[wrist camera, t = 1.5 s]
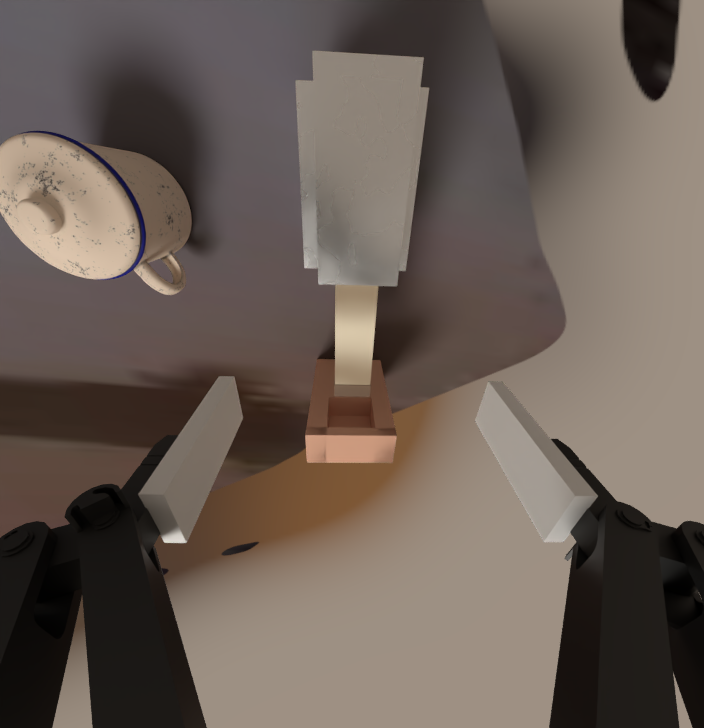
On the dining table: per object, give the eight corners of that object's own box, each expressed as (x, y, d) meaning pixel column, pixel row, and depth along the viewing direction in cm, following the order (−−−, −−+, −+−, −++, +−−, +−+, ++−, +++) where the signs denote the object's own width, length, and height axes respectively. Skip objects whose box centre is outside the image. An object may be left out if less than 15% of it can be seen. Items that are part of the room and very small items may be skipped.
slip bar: (336, 120, 18) (335, 108, 15) (386, 123, 18) (393, 111, 15) (335, 376, 28) (334, 396, 25) (367, 377, 28) (369, 396, 25)
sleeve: (309, 112, 24) (281, 48, 13) (404, 117, 24) (453, 59, 14) (313, 249, 30) (296, 283, 19) (391, 252, 30) (418, 286, 19)
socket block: (317, 359, 36) (305, 435, 25) (380, 360, 37) (396, 435, 25) (317, 381, 38) (307, 462, 27) (377, 382, 38) (392, 462, 27)
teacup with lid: (69, 185, 26) (-98, 182, 16) (140, 124, 24) (-3, 77, 14) (171, 297, 32) (93, 346, 22) (236, 255, 30) (181, 287, 20)
